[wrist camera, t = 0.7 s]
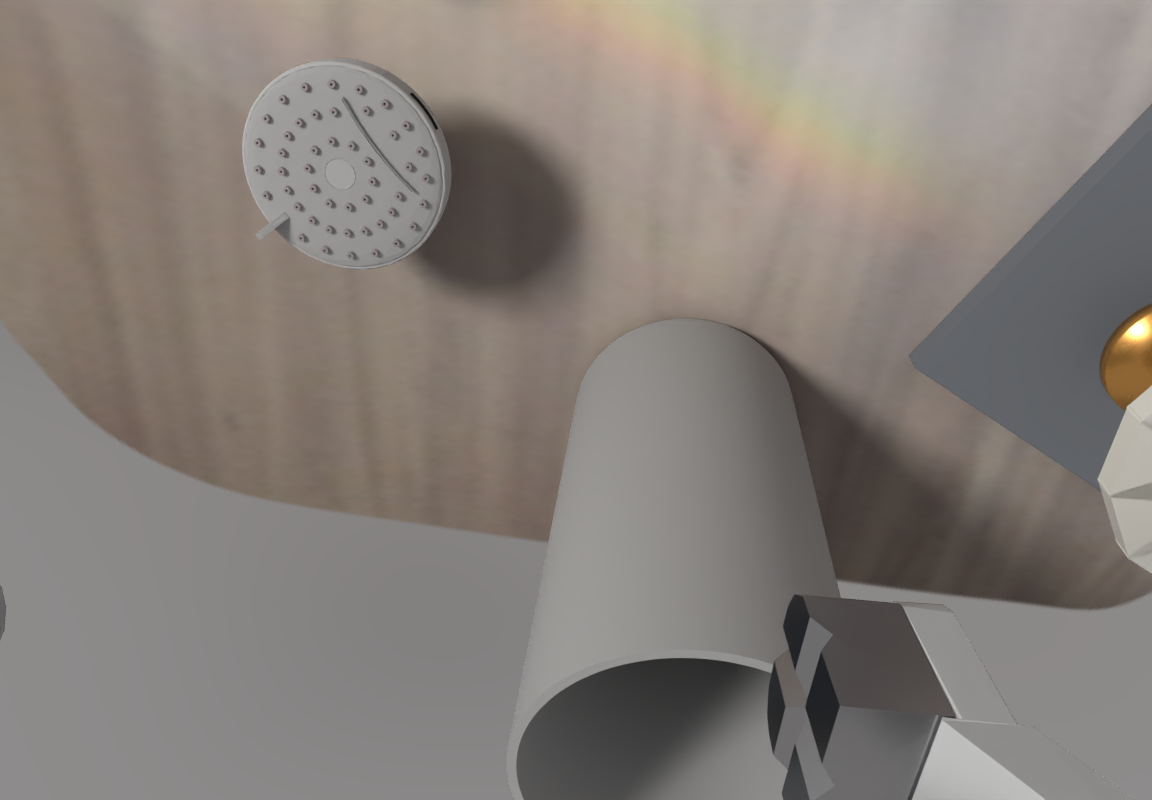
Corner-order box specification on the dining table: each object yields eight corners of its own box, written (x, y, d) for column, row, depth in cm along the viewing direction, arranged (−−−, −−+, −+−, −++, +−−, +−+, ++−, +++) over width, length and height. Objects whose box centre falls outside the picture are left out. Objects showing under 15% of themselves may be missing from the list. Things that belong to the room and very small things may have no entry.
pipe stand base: (1153, 103, 40) (1168, 109, 39) (1382, 285, 43) (1403, 297, 42) (909, 355, 48) (915, 368, 46) (1119, 495, 51) (1130, 511, 50)
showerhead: (179, 154, 39) (342, 17, 35) (248, 119, 45) (393, 0, 41) (321, 318, 42) (483, 209, 39) (367, 264, 48) (510, 166, 45)
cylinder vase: (734, 523, 55) (773, 929, 33) (548, 455, 53) (462, 830, 32) (832, 360, 48) (958, 729, 27) (623, 279, 47) (581, 597, 26)
